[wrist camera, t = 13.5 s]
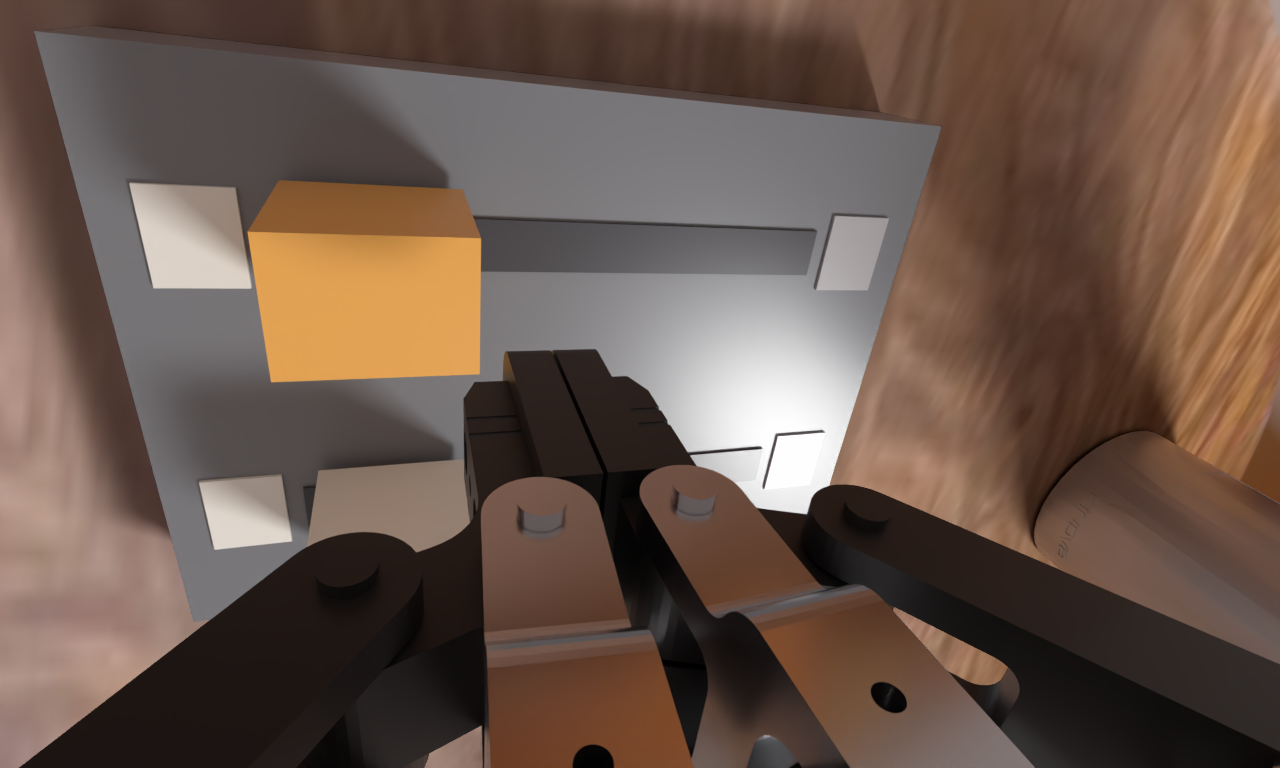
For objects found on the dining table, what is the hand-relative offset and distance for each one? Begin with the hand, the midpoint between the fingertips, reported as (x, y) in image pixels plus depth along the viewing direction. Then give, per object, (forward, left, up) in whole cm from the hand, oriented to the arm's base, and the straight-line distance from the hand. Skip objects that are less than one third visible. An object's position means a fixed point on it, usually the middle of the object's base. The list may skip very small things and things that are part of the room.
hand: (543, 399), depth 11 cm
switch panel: (-2, +4, -11) cm, 12 cm away
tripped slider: (+3, 0, -7) cm, 8 cm away
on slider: (+3, +8, -7) cm, 11 cm away
